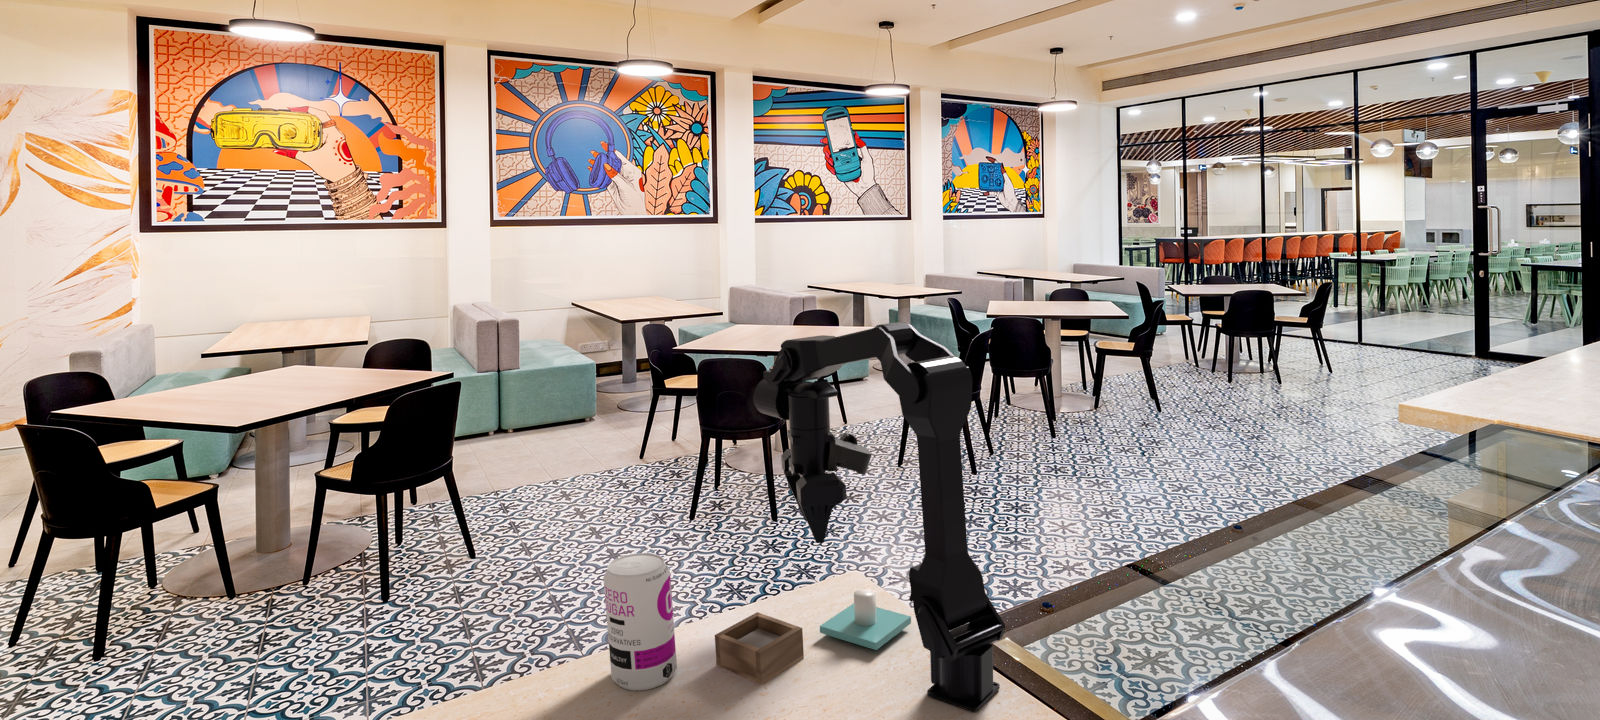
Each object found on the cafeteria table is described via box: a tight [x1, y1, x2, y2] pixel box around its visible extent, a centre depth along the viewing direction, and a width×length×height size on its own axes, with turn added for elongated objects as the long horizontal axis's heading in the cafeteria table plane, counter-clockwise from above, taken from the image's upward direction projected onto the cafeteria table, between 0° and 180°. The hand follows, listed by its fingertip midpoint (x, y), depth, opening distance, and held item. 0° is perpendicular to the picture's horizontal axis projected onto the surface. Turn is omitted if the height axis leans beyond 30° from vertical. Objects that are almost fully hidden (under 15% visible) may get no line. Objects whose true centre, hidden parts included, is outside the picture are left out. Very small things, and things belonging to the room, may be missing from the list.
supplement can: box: [603, 552, 678, 691], centre depth 108 cm, size 8×8×15 cm
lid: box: [819, 588, 912, 651], centre depth 117 cm, size 9×9×6 cm
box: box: [714, 611, 805, 686], centre depth 111 cm, size 8×8×4 cm
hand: (814, 531), depth 124 cm, fingers open, 9 cm apart
